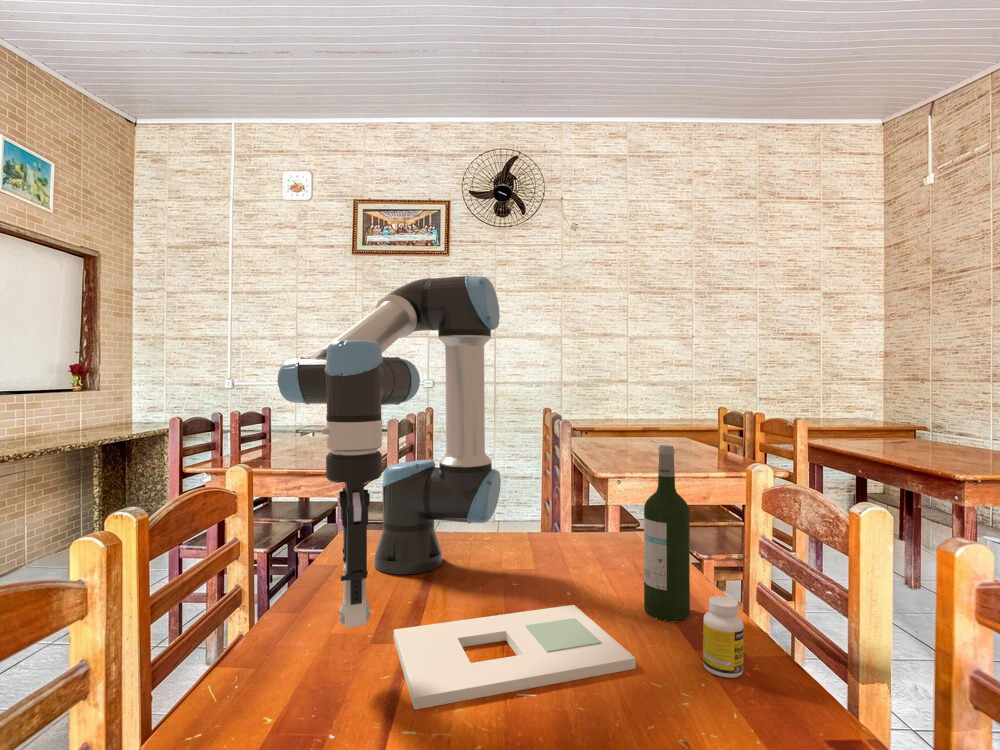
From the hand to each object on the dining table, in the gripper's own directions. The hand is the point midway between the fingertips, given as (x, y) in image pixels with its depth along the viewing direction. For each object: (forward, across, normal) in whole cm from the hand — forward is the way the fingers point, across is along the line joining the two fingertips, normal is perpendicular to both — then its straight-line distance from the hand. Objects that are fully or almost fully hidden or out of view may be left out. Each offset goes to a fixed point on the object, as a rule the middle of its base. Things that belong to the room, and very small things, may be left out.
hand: (354, 616), depth 76 cm
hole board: (+8, 0, +23) cm, 24 cm away
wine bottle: (+9, -4, +55) cm, 56 cm away
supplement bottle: (+9, +14, +51) cm, 53 cm away
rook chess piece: (+1, 0, 0) cm, 1 cm away
